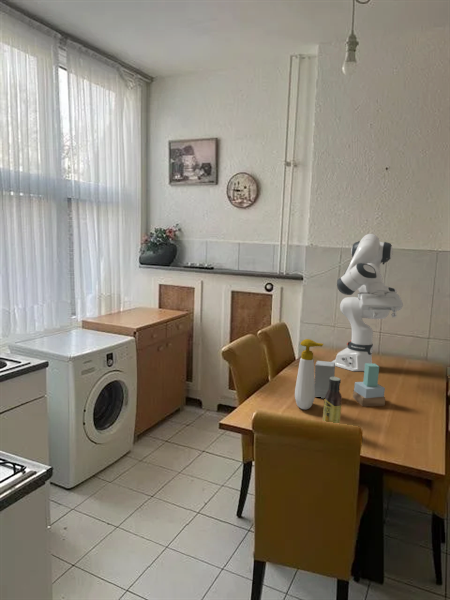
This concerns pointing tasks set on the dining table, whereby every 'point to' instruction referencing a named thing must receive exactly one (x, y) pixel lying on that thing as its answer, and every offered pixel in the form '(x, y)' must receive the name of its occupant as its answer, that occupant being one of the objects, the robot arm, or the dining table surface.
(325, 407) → the sauce bottle
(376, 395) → the grey block
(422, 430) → the dining table surface
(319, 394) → the skincare box
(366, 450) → the dining table surface
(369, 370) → the teal block
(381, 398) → the walnut block
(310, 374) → the soap bottle
